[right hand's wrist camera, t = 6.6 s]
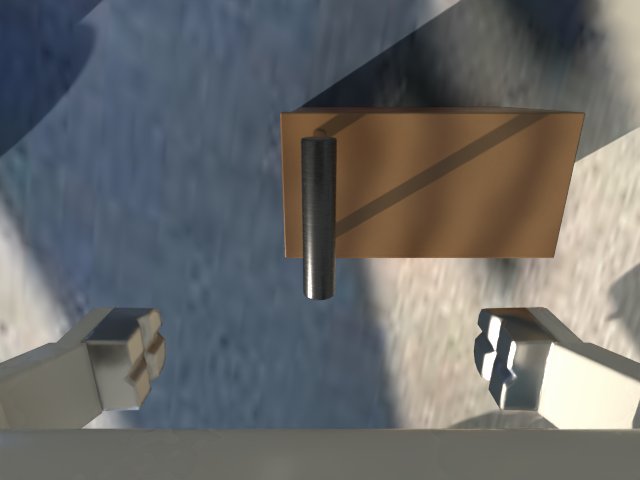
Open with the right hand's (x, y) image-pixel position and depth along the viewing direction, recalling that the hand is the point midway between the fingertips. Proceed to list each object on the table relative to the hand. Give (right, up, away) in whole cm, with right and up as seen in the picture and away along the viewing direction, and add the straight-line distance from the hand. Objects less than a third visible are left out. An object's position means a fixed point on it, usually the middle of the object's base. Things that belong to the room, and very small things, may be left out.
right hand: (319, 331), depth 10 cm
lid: (+7, +6, +16) cm, 18 cm away
